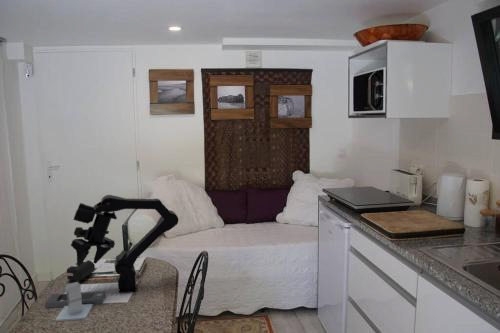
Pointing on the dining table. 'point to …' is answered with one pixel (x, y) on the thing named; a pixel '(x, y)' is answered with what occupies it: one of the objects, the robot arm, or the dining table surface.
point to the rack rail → (86, 297)
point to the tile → (66, 316)
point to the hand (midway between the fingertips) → (86, 264)
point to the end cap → (80, 271)
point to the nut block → (74, 298)
